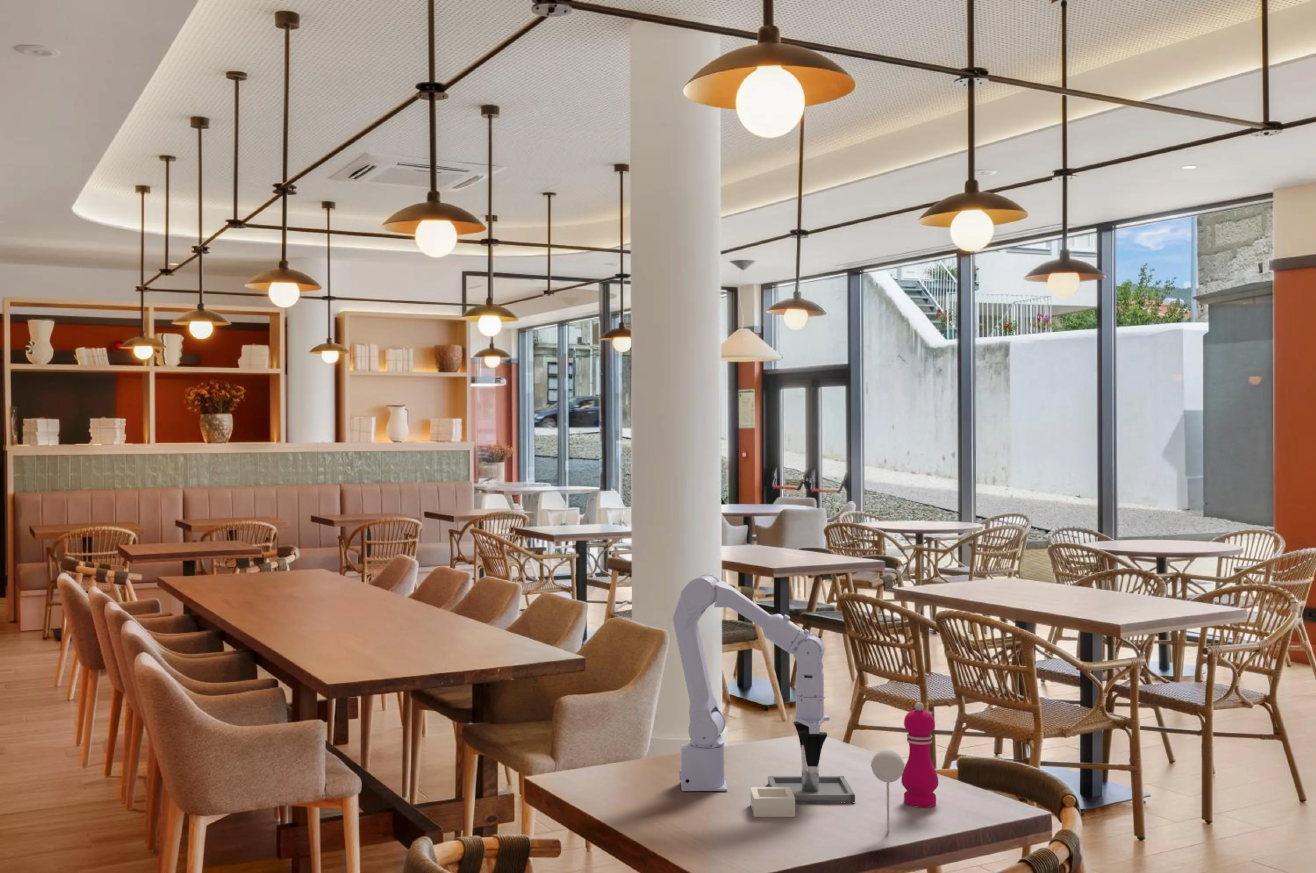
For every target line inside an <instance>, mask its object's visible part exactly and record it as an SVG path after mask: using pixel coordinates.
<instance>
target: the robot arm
mask: <svg viewBox="0 0 1316 873" xmlns="http://www.w3.org/2000/svg"><path fill="white" fill-rule="evenodd" d="M679 596H680V597H679V599H678V602H677V605H676V607H675V611H674V613H673V616H672V617H673V618H672V621H673V626H674V633H675V636H676V640H677V641H676V642H677V646H678V652H679V656H680V659H681V661H680V662H681V665H682V669H683V674H684V675H683V676H684V679H685V683H686V684H685V685H686V689H687V693H688V694H687V695H688V698H689V699H688V700H689V711H688V712H689V713H688V714H689V725H688V736H689V738H690V741H689V743H682V744H680V771H679V781H680V787H681V791H682V792H726V791H727V792H728V785H727V781H726V778H725V740H724V739H723V737H722V735H721V734H723V732H724V731H725V728H726V718H725V716H724V714H723V713H722V712H721V710H720V709H719V706H718V701H717V699H716V698H715V696H714V694H713V689H712V685H711V681H710V675H709V670H708V666H707V662H706V657H705V652H704V647H703V642H702V637H701V632H700V628H699V624H698V622H699V620H700V619H701V618H702V616H703V615H704V613H705V612H706V610H707V609H708V608H709V607H710V606H712V605H714V606H713V607H714V608H730V609H732V610H733V611H735V612H737V613H738V614H739V615H740V616H743V617H744V618H745V619H748V621H751V622H752V623H753V624H756V626H759V627H760V628H761V629H762V632H763V637H764V638H766V639H767V640H769V641H770V642H771V643H773V644H775V645H776V646H777V647H779V648H781V649H782V650H783V651H785V652H787V654H790V655H791V654H792V655H793V657H794V658H793V659H794V660H795V662H796V672H795V715H794V720H795V721H793V722H792V723H793V725H794V727H795V729H796V732H797V736H798V740H799V745H800V746H799V747H801V745H804V750H805V757H806V762H807V766H808V767H817V766H818V764H820V759H821V755H822V754H821V753H822V748H823V746H824V744H825V741H826V739H827V738H828V733H827V731H826V732H825V731H821V728H820V727H821V725H822V724H823V723H824V722H825V721H827V722H828V721H830V720H831V717H830V716H829V715H826V714H825V708H824V707H825V706H824V704H825V703H824V702H825V700H824V699H825V698H824V696H825V695H824V694H825V693H824V692H825V691H824V689H825V688H824V687H825V685H824V684H825V683H824V679H825V678H824V677H825V676H824V671H823V670H824V664H823V656H824V655H825V646H824V645H825V644H824V642H823V641H822V639H821V638H819V637H818V635H816V634H814V633H810V630H808V629H807V628H805V629H803V628H802V627H800V626H798V625H797V624H796V623H794V622H792V621H791V620H790V619H791V617H790V616H789V615H788V614H784V615H782V614H780V613H774V614H770V613H769V612H767V611H766V610H764V609H763V608H762V607H761V606H759V605H758V604H756V603H755V602H754V601H752V600H751V599H749V597H747V596H745V595H744V594H743V593H741V592H740V591H739V590H738V589H736V588H735V587H733V586H732V585H730V584H729V583H728V582H726V581H724V580H719V578H717V576H715V575H713V574H708V573H707V574H702V575H700V576H699V577H696V578H693V579H691V580H690V581H689V582H688V583H687V584H686V585H685V587H684V588H683V589H682V590H681V591H680V595H679Z"/></svg>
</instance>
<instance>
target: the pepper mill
mask: <svg viewBox="0 0 1316 873" xmlns="http://www.w3.org/2000/svg"><path fill="white" fill-rule="evenodd" d="M924 708H925V705H924V704H923V703H922V702H921V701H918V702H916V703H915V704H914V709H913V710H910V711H909V712H907V713H906V715H905V716H904V721H903V725H904V729H905V731H907V734H906V742H907V743H908V745H909V754H908V758H907V761H906V763H905V764H904V771H903V774H902V775H901V779H900V780H901V781H900V782H901V784H902V787H904V789H905V790H906V791H904V793H903V802H904V803H905V805H907V804H908V806H910V805H911V807H914V806H917V807H916V808H929V807H928V806H931V807H934V806H935V805H936V804H937V794H936V793H935V790H936V789H937V788H938V786H939V777H938V773H937V770H936V768H935V766H934V764H933V761H932V756H931V744H932V743H933V735H932V732H933V731H934V730H935V726H936V724H935V723H936V722H935V717H934V716H933V715H932V714H931V713H930V712H929V711H927V710H924ZM933 805H934V806H933Z"/></svg>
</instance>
